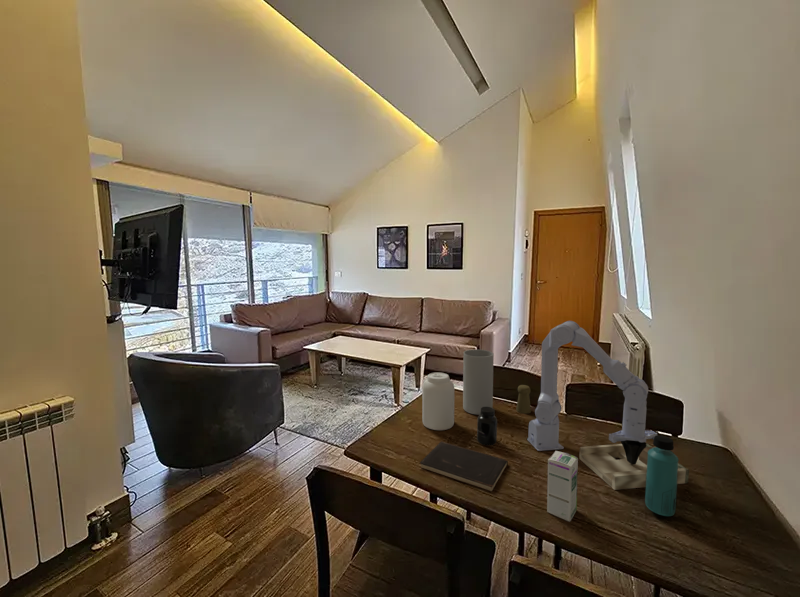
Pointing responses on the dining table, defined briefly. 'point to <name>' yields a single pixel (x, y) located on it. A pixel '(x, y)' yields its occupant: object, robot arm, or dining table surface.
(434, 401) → the white lidded jar
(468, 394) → the cylinder vase
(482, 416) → the supplement bottle
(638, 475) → the trap box
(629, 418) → the robot arm
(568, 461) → the syrup box
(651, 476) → the beverage bottle
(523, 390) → the cork
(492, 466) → the hardcover book
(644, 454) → the walnut block
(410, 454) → the dining table surface
